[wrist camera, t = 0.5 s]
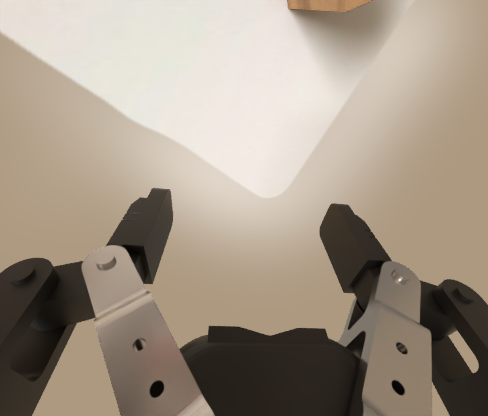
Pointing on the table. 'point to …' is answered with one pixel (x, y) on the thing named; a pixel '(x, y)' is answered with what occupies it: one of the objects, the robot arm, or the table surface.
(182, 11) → the table surface
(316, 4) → the wooden block
